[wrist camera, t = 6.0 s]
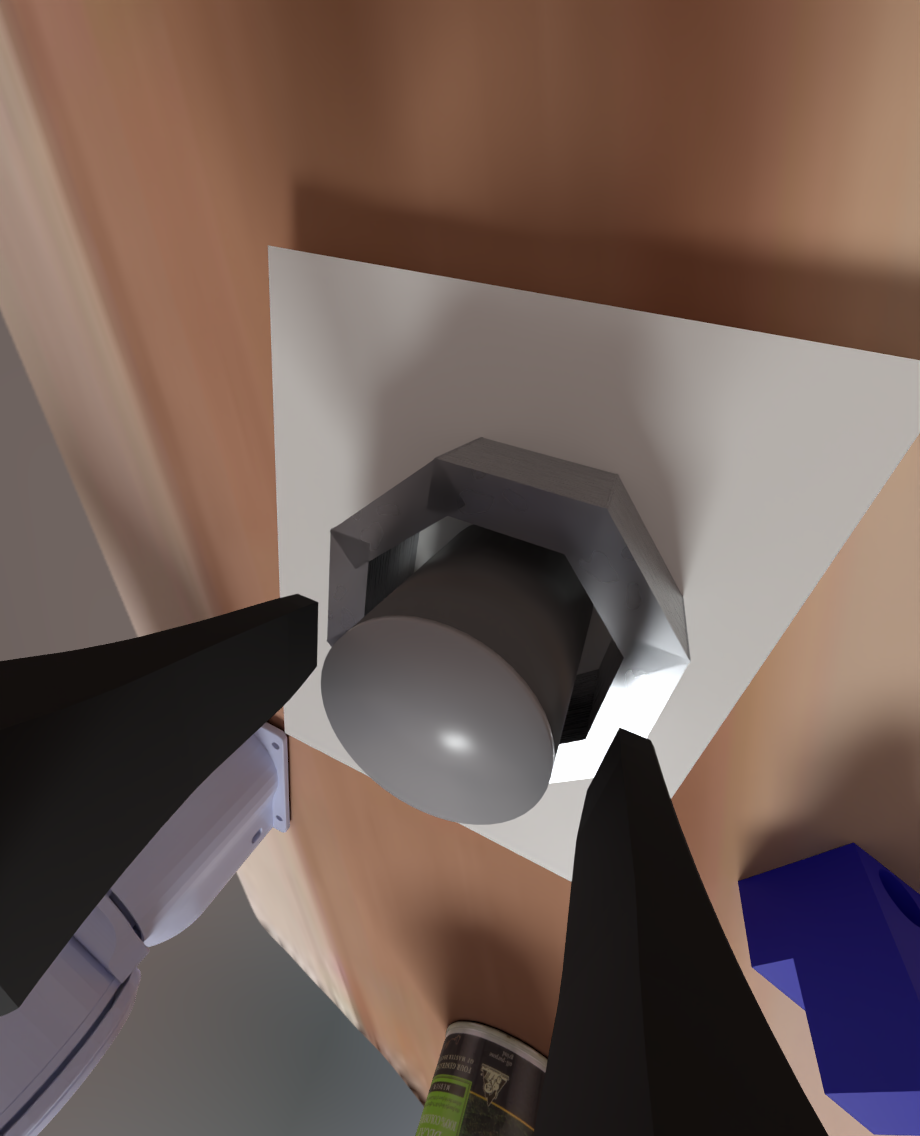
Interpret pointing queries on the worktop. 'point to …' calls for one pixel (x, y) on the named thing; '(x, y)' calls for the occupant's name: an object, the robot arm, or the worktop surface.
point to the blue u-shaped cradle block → (847, 975)
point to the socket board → (571, 485)
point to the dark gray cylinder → (463, 678)
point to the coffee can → (483, 1085)
